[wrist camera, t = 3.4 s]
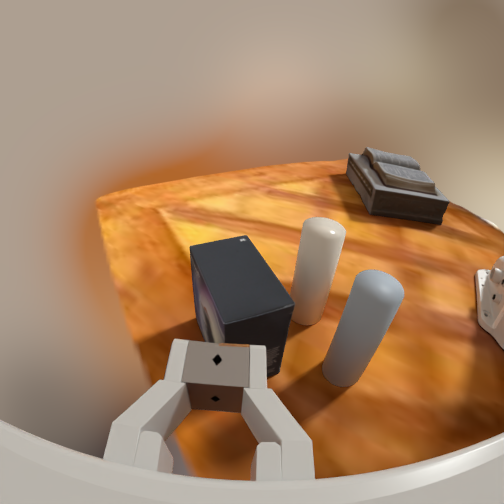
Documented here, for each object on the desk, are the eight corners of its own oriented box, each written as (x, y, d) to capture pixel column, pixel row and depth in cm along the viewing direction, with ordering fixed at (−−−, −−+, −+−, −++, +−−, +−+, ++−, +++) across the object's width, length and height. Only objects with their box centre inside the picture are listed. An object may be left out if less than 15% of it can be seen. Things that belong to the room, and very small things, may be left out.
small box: (191, 317, 36) (185, 243, 29) (243, 305, 38) (248, 232, 32) (221, 392, 28) (220, 322, 22) (281, 373, 30) (299, 301, 24)
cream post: (292, 296, 40) (308, 213, 33) (324, 305, 39) (347, 223, 32) (282, 319, 36) (298, 232, 29) (317, 329, 35) (343, 244, 28)
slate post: (326, 349, 33) (357, 264, 26) (363, 359, 32) (403, 277, 25) (317, 380, 29) (352, 296, 22) (357, 391, 28) (404, 311, 21)
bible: (419, 187, 80) (427, 156, 74) (446, 234, 58) (460, 194, 52) (344, 170, 83) (350, 137, 78) (348, 211, 62) (358, 167, 56)
